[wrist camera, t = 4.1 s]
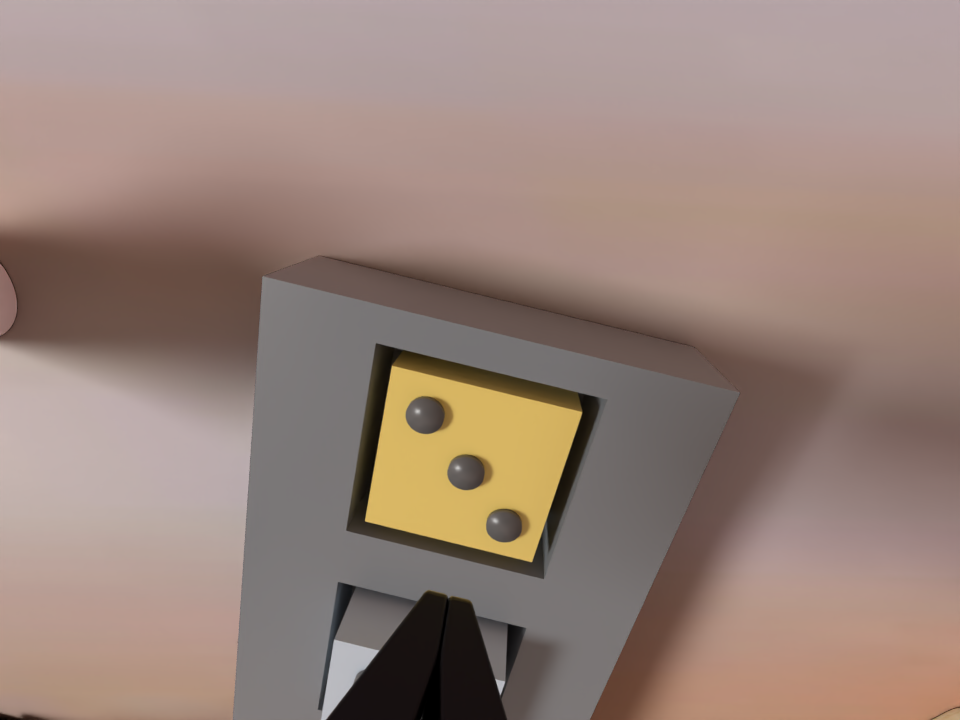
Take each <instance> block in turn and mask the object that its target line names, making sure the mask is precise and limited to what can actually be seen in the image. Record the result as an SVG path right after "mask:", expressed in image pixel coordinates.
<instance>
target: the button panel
mask: <svg viewBox="0 0 960 720" xmlns="http://www.w3.org/2000/svg"><path fill="white" fill-rule="evenodd" d="M403 350H406V351H410V352H415V353H419V354H423V355H427V356H431V357H435V358H439V359H443V360H447V361H451V362H456V363H460V364H464V365H468V366H472V367H476V368H480V369H484V370H488V371H492V372H497V373H501V374H505V375H509V376H513V377H517V378H521V379H525V380H529V381H533V382H538V383H542V384H546V385H550V386H554V387H558V388H562V389H566V390H570V391H574V392H578V396H579V400H580V404H581V408H582V412H583V413H582V416H581V418H580V421H579V424H578V427H577V430H576V433H575V436H574V439H573V442H572V445H571V448H570V451H569V454H568V457H567V460H566V463H565V466H564V469H563V472H562V475H561V478H560V481H559V484H558V487H557V490H556V493H555V495H554V498H553V501H552V504H551V507H550V510H549V513H548V516H547V519H546V522H545V525H544V528H543V531H542V534H541V537H540V540H539V543H538V546H537V549H536V552H535V555H534V558H533V561H532V562H529V561H525V560H521V559H517V558H513V557H508V556H504V555H500V554H496V553H492V552H488V551H484V550H480V549H476V548H472V547H468V546H464V545H459V544H455V543H451V542H447V541H443V540H439V539H435V538H431V537H427V536H423V535H419V534H415V533H410V532H406V531H402V530H398V529H394V528H390V527H386V526H382V525H378V524H374V523H370V522H366V521H365V518H366V512H367V506H368V500H369V495H370V489H371V483H372V477H373V472H374V466H375V460H376V454H377V449H378V443H379V437H380V431H381V426H382V420H383V414H384V409H385V403H386V397H387V391H388V386H389V380H390V374H391V368H392V365H393V364H394V362H395V361H396V359H397V358H398V357H399V355H400V354H401V352H402V351H403ZM739 395H740V392H739V391H738V390H737V389H736V388H735V387H734V386H733V385H732V384H731V383H730V382H729V381H728V380H727V379H726V378H725V377H724V376H723V375H722V374H721V373H720V372H719V371H718V370H717V369H716V368H715V367H714V366H713V365H712V364H711V363H710V362H709V361H708V360H707V359H706V358H705V357H704V356H703V355H702V354H701V353H700V352H699V351H698V350H697V349H696V348H695V347H692V346H688V345H684V344H680V343H676V342H671V341H667V340H663V339H659V338H655V337H651V336H647V335H643V334H639V333H634V332H630V331H626V330H622V329H618V328H614V327H610V326H606V325H602V324H598V323H593V322H589V321H585V320H581V319H577V318H573V317H569V316H565V315H561V314H556V313H552V312H548V311H544V310H540V309H536V308H532V307H528V306H524V305H519V304H515V303H511V302H507V301H503V300H499V299H495V298H491V297H487V296H483V295H478V294H474V293H470V292H466V291H462V290H458V289H454V288H450V287H446V286H441V285H437V284H433V283H429V282H425V281H421V280H417V279H413V278H409V277H404V276H400V275H396V274H392V273H388V272H384V271H380V270H376V269H372V268H368V267H363V266H359V265H355V264H351V263H347V262H343V261H339V260H335V259H331V258H326V257H322V256H316V257H314V258H311V259H308V260H305V261H303V262H300V263H297V264H295V265H292V266H289V267H286V268H284V269H281V270H278V271H275V272H273V273H270V274H267V275H264V276H262V291H261V306H260V321H259V336H258V351H257V366H256V381H255V396H254V411H253V426H252V441H251V456H250V471H249V486H248V501H247V516H246V531H245V546H244V561H243V576H242V591H241V606H240V621H239V636H238V651H237V666H236V681H235V696H234V711H233V720H321V717H322V710H323V704H324V698H325V692H326V686H327V680H328V674H329V668H330V662H331V655H332V649H333V643H334V639H335V636H336V634H337V631H338V629H339V627H340V624H341V622H342V619H343V617H344V615H345V612H346V610H347V607H348V605H349V603H350V600H351V598H352V595H353V593H354V591H355V588H356V586H357V587H361V588H365V589H369V590H373V591H378V592H382V593H386V594H390V595H394V596H398V597H402V598H406V599H410V600H414V601H418V600H419V599H420V597H421V596H422V595H423V594H424V592H426V591H427V590H432V591H436V592H440V593H444V594H446V595H447V596H448V598H449V597H450V596H456V597H460V598H464V599H468V600H470V601H471V602H472V604H473V607H474V610H475V614H476V616H479V617H484V618H488V619H492V620H496V621H500V622H504V623H508V627H507V652H506V677H505V684H504V687H503V690H502V692H501V695H500V696H501V699H502V703H503V706H504V709H505V713H506V716H507V719H508V720H590V718H591V716H592V714H593V712H594V710H595V707H596V705H597V703H598V701H599V699H600V697H601V694H602V692H603V690H604V688H605V686H606V684H607V681H608V679H609V677H610V675H611V673H612V671H613V668H614V666H615V664H616V662H617V660H618V658H619V655H620V653H621V651H622V649H623V647H624V644H625V642H626V640H627V638H628V636H629V634H630V631H631V629H632V627H633V625H634V623H635V621H636V618H637V616H638V614H639V612H640V610H641V608H642V605H643V603H644V601H645V599H646V597H647V594H648V592H649V590H650V588H651V586H652V584H653V581H654V579H655V577H656V575H657V573H658V571H659V568H660V566H661V564H662V562H663V560H664V558H665V555H666V553H667V551H668V549H669V547H670V545H671V542H672V540H673V538H674V536H675V534H676V531H677V529H678V527H679V525H680V523H681V521H682V518H683V516H684V514H685V512H686V510H687V508H688V505H689V503H690V501H691V499H692V497H693V495H694V492H695V490H696V488H697V486H698V484H699V482H700V479H701V477H702V475H703V473H704V471H705V468H706V466H707V464H708V462H709V460H710V458H711V455H712V453H713V451H714V449H715V447H716V445H717V442H718V440H719V438H720V436H721V434H722V432H723V429H724V427H725V425H726V423H727V421H728V418H729V416H730V414H731V412H732V410H733V408H734V405H735V403H736V401H737V399H738V397H739Z"/></svg>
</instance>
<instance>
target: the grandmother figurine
mask: <svg viewBox="0 0 960 720" xmlns="http://www.w3.org/2000/svg"><path fill="white" fill-rule="evenodd" d="M932 720H960V708H955V709H952V710H950V711H948V712H946V713H944V714H941V715H940V716H938V717H936V718H934V719H932Z"/></svg>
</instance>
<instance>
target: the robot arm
mask: <svg viewBox="0 0 960 720" xmlns="http://www.w3.org/2000/svg"><path fill="white" fill-rule="evenodd" d="M326 720H508V719H507V716H506V713H505V709H504V706H503V703H502V699H501V696H500V693H499V689H498V686H497V683H496V680H495V676H494V673H493V670H492V666H491V663H490V660H489V657H488V653H487V650H486V647H485V643H484V640H483V637H482V633H481V630H480V627H479V624H478V620H477V617H476V614H475V610H474V607H473V604H472V602H471V601H470V600H468V599H464V598H460V597H456V596H450V597H449V598H448V596H447V595H446V594H444V593H440V592H436V591H432V590H427V591H426V592H424V594H423V595H422V596H421V597H420V599H419V600H418V601H417V603H416V604H415V605H414V607H413V608H412V609H411V610H410V612H409V613H408V614H407V616H406V617H405V618H404V619H403V621H402V622H401V623H400V625H399V626H398V627H397V628H396V630H395V631H394V632H393V634H392V635H391V636H390V637H389V639H388V640H387V641H386V643H385V644H384V645H383V647H382V648H381V649H380V650H379V652H378V653H377V654H376V656H375V657H374V658H373V659H372V661H371V662H370V663H369V665H368V666H367V667H366V668H365V670H364V671H363V672H362V674H361V675H360V676H359V678H358V679H357V680H356V681H355V683H354V684H353V685H352V687H351V688H350V689H349V690H348V692H347V693H346V694H345V696H344V697H343V698H342V699H341V701H340V702H339V703H338V705H337V706H336V707H335V709H334V710H333V711H332V712H331V714H330V715H329V716H328V718H327V719H326Z"/></svg>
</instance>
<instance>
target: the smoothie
mask: <svg viewBox="0 0 960 720" xmlns="http://www.w3.org/2000/svg"><path fill="white" fill-rule="evenodd" d="M16 313H17V299H16V294H15V290H14V287H13V284H12V282H11V280H10V278H9V276H8V274H7V272H6V271H5V269H4V268H3V266H2V265H1V264H0V336H1V335H3V334H4V333H5V332H7V331H8V330H9V329H10V328H11V326H12V324H13V323H14V320H15V317H16Z"/></svg>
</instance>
